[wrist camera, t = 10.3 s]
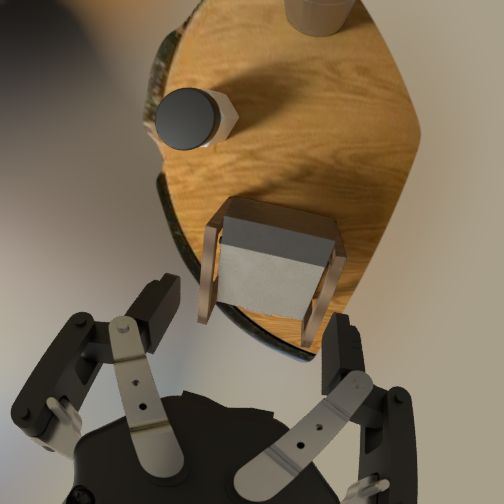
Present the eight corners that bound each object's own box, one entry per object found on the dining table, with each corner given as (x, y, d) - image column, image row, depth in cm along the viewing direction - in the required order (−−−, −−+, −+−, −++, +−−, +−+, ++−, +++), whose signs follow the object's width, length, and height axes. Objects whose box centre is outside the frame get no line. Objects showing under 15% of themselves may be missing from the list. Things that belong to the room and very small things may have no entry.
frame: (228, 196, 47) (205, 225, 35) (336, 221, 46) (346, 258, 34) (217, 278, 55) (197, 322, 44) (309, 299, 54) (309, 348, 43)
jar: (240, 92, 38) (219, 84, 28) (239, 141, 42) (218, 150, 32) (186, 94, 39) (151, 90, 29) (186, 141, 43) (152, 151, 33)
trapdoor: (228, 194, 36) (217, 214, 32) (339, 220, 35) (342, 242, 31) (219, 287, 47) (211, 310, 43) (305, 307, 46) (303, 331, 42)
